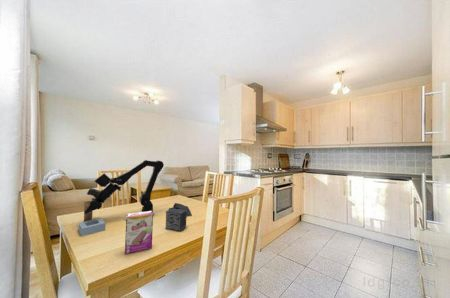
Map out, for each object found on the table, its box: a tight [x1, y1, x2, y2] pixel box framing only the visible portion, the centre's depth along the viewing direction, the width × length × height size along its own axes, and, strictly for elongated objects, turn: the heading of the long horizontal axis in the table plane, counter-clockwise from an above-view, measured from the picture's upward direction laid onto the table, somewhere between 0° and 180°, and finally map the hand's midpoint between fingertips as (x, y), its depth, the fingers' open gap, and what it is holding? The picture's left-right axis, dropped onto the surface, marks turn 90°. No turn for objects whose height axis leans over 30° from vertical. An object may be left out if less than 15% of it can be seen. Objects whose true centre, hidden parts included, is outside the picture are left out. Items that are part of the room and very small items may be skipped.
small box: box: [165, 209, 187, 233], centre depth 102 cm, size 11×6×10 cm, turn 71°
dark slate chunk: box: [168, 202, 192, 217], centre depth 130 cm, size 15×22×5 cm
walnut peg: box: [83, 200, 94, 222], centre depth 105 cm, size 4×4×12 cm
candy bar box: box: [124, 211, 154, 255], centre depth 80 cm, size 11×5×16 cm, turn 118°
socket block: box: [77, 217, 106, 237], centre depth 98 cm, size 10×10×4 cm
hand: (85, 212), depth 104 cm, fingers closed on walnut peg, 4 cm apart
